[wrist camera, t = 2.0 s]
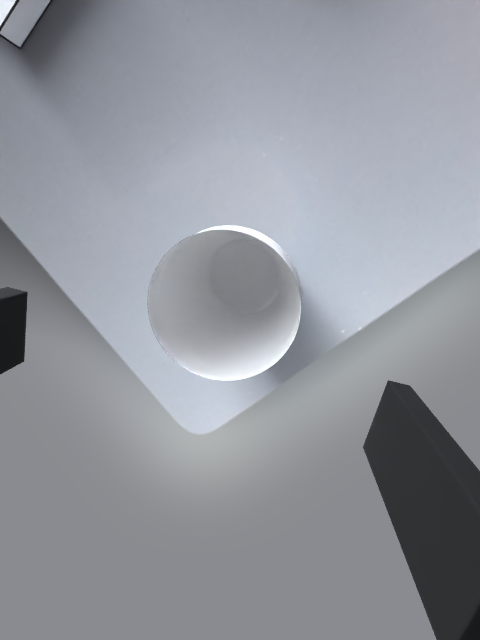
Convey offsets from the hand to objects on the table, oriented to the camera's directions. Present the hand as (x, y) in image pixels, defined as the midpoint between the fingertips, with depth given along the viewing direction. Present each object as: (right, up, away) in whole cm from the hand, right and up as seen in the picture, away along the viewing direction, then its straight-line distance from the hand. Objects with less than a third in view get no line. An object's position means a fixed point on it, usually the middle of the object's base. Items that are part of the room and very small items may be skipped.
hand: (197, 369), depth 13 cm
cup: (+2, +6, +19) cm, 20 cm away
